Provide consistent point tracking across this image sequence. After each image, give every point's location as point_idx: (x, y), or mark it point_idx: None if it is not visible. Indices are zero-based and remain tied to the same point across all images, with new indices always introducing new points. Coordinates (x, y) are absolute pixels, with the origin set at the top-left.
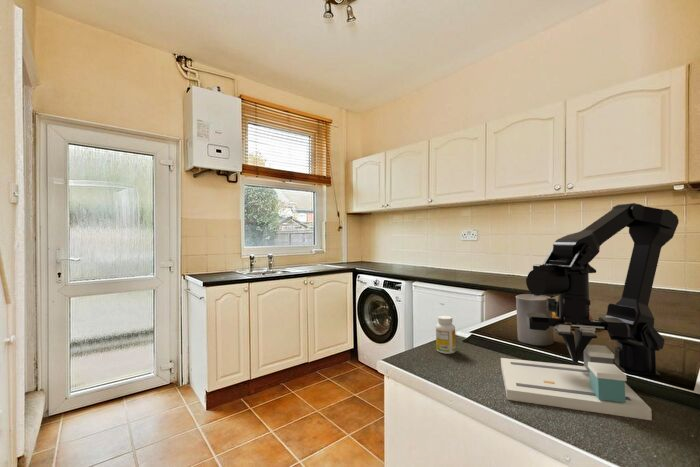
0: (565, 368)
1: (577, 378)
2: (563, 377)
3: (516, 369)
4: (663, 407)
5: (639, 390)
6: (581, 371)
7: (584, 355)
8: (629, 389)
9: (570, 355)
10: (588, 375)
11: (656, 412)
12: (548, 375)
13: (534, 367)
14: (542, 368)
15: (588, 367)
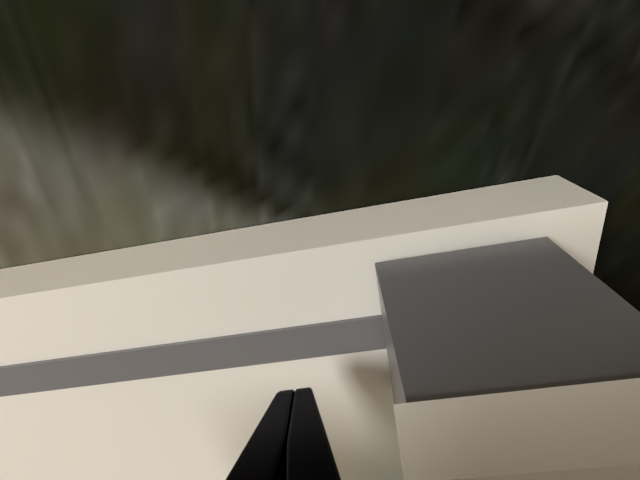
0: (241, 348)
1: None
2: None
3: (6, 453)
4: None
5: (631, 303)
6: (343, 351)
7: (396, 367)
8: None
9: (256, 438)
10: (377, 388)
11: None
12: (172, 458)
13: (67, 397)
14: (113, 394)
15: (393, 389)
